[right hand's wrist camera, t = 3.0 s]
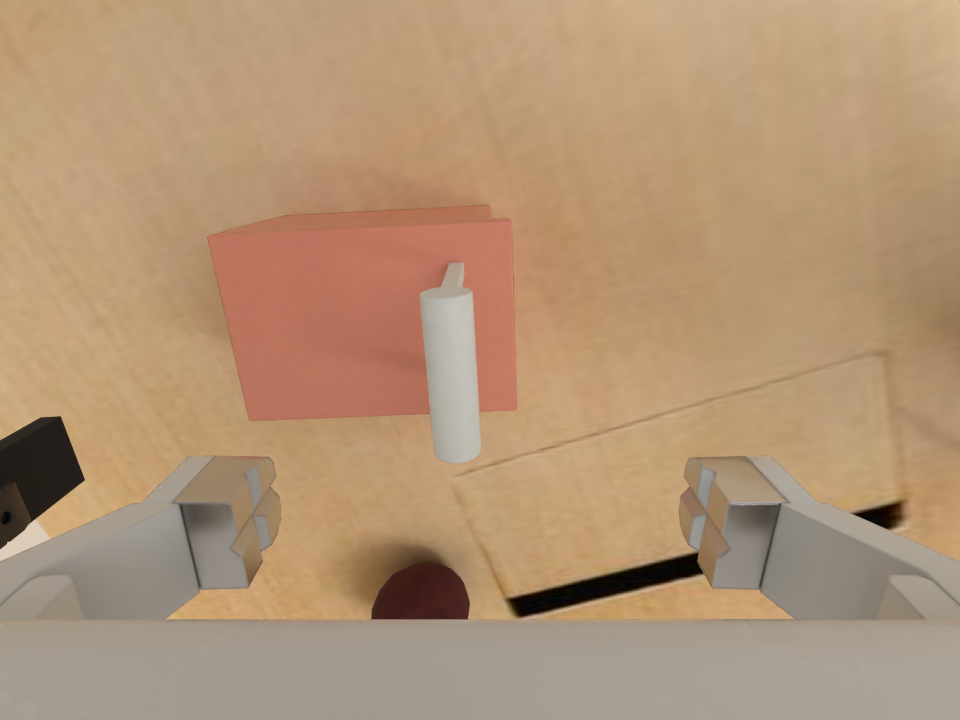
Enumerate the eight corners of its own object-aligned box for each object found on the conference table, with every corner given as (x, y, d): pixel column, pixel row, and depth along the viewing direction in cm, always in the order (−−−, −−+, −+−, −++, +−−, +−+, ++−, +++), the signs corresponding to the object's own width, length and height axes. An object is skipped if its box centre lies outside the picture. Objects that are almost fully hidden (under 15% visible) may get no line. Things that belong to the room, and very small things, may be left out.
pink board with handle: (510, 217, 25) (522, 244, 17) (515, 401, 29) (528, 498, 20) (218, 232, 26) (90, 265, 17) (257, 411, 29) (166, 511, 21)
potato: (363, 582, 44) (342, 657, 37) (423, 526, 42) (411, 594, 35) (431, 627, 46) (421, 706, 39) (491, 576, 44) (492, 649, 37)
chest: (490, 205, 33) (491, 218, 25) (496, 348, 37) (498, 401, 29) (283, 215, 34) (219, 232, 26) (308, 356, 37) (258, 411, 29)
